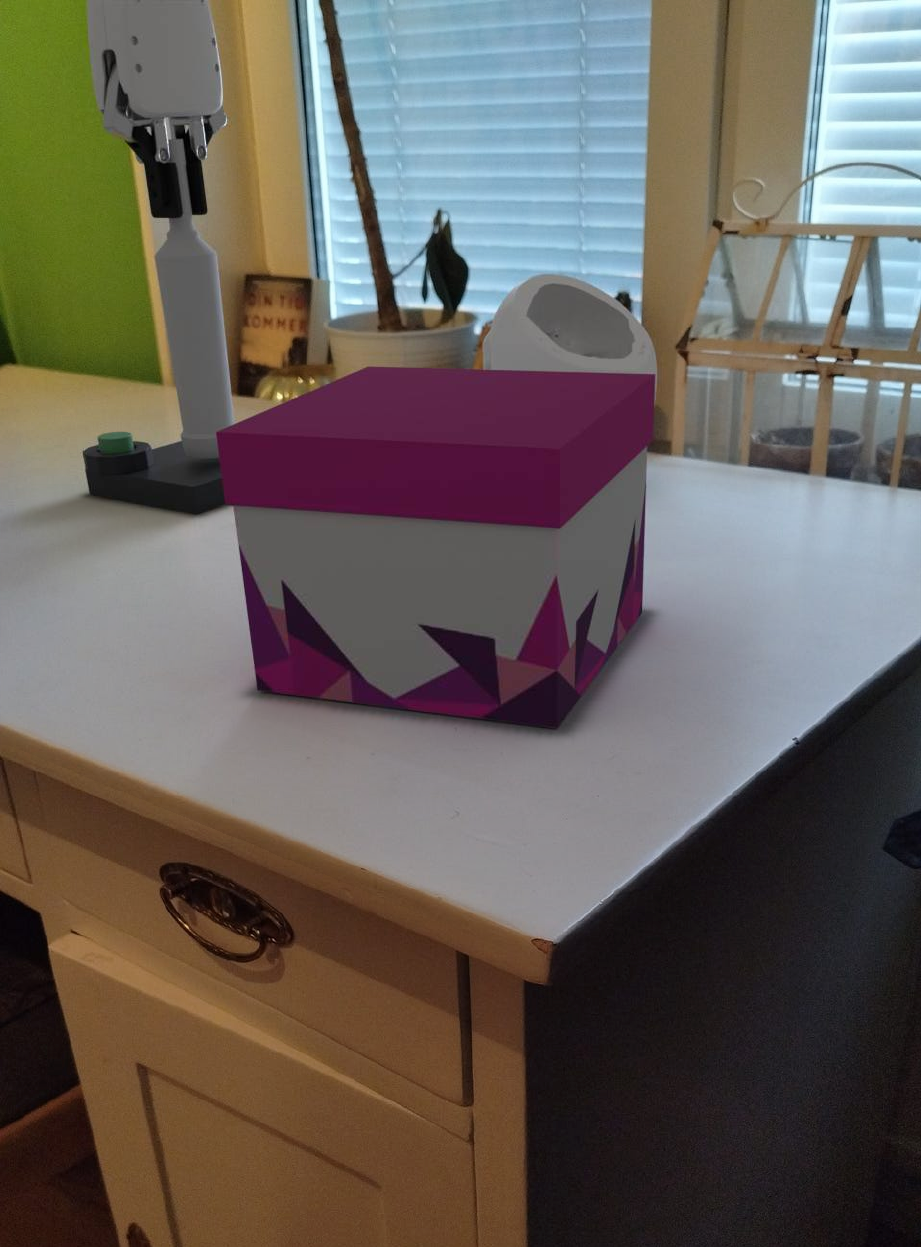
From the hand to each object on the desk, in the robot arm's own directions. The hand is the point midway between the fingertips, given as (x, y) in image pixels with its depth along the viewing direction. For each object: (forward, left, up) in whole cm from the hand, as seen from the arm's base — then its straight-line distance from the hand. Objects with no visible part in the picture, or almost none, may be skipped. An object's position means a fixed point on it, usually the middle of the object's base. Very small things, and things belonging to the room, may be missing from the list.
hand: (179, 214), depth 105 cm
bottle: (0, 0, -20) cm, 20 cm away
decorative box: (+43, -21, -23) cm, 53 cm away
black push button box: (-2, -1, -23) cm, 23 cm away
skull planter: (+26, +18, -23) cm, 39 cm away
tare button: (-6, -6, -19) cm, 21 cm away
